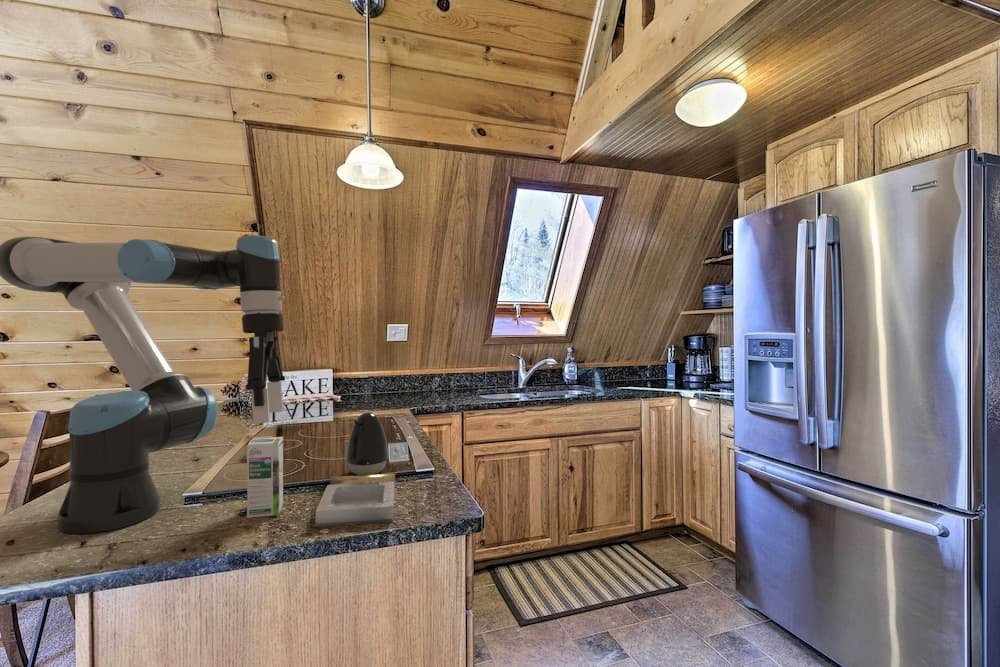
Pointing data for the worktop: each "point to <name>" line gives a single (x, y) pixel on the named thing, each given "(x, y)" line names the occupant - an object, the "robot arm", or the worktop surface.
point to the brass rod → (363, 479)
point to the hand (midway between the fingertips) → (269, 417)
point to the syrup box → (264, 477)
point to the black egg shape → (367, 446)
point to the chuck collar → (356, 504)
